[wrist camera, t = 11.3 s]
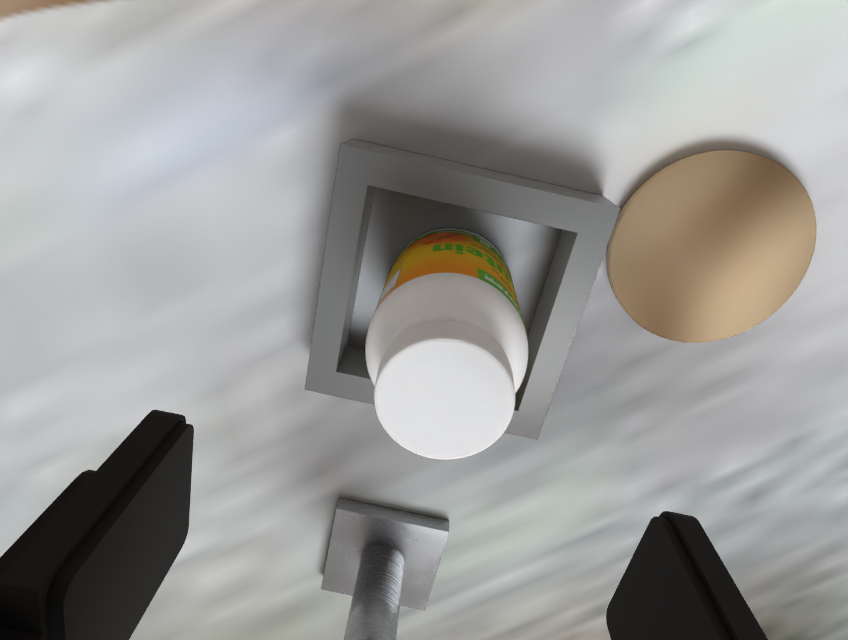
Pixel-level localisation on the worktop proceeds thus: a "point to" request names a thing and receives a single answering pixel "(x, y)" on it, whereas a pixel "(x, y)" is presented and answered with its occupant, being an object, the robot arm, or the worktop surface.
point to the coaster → (711, 245)
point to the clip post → (382, 564)
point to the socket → (476, 189)
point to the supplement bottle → (447, 346)
